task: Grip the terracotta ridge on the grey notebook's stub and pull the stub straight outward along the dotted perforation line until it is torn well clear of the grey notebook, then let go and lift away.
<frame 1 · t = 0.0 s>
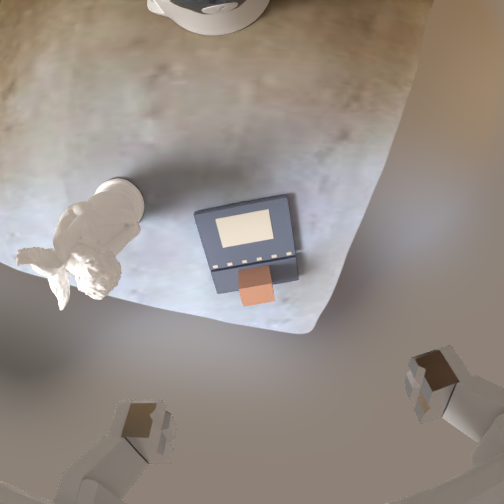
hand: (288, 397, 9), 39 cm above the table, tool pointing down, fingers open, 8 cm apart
grey notebook: (246, 232, 50), on the table
stub: (256, 283, 51), point 3 cm above the table, slide at 0.0 cm
cherub figurine: (114, 211, 47), on the table
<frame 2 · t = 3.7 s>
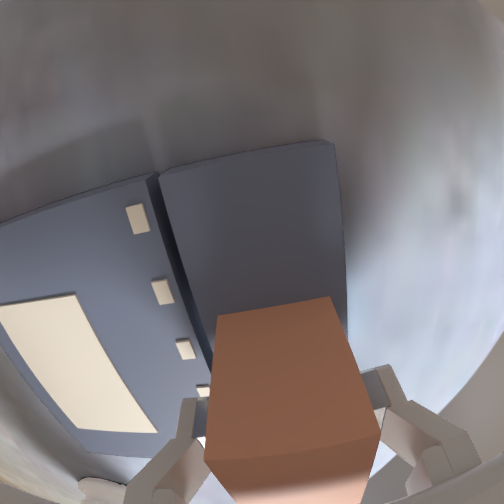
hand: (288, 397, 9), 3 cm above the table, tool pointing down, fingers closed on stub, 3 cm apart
grey notebook: (104, 358, 12), on the table
stub: (289, 404, 9), point 3 cm above the table, slide at 0.0 cm, touching gripper
cherub figurine: (140, 501, 21), on the table
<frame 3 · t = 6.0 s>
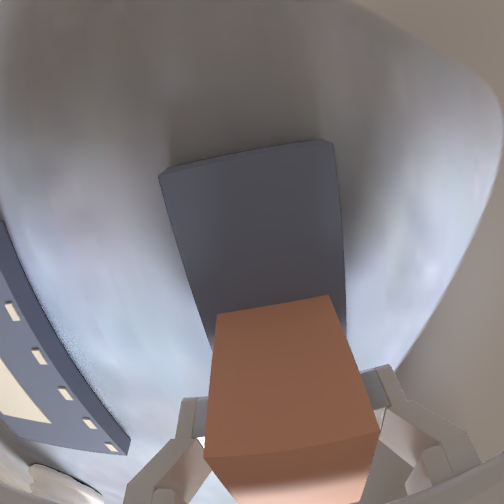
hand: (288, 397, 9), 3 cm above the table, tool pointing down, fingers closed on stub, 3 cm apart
grey notebook: (8, 358, 13), on the table
stub: (288, 402, 9), point 3 cm above the table, slide at 7.0 cm, touching gripper
cherub figurine: (83, 490, 22), on the table
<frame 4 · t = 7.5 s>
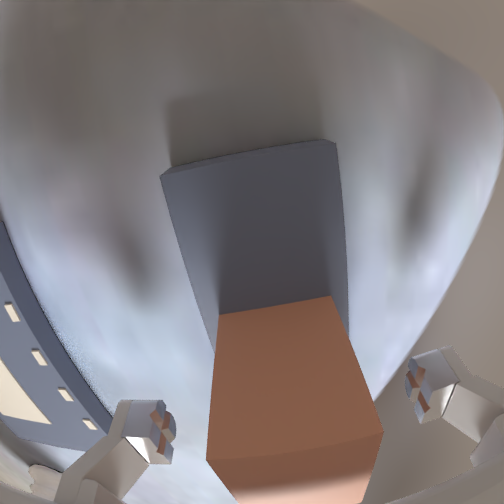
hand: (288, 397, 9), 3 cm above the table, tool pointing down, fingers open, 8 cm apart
grey notebook: (8, 359, 13), on the table
stub: (290, 403, 9), point 3 cm above the table, slide at 7.1 cm
cherub figurine: (83, 491, 22), on the table
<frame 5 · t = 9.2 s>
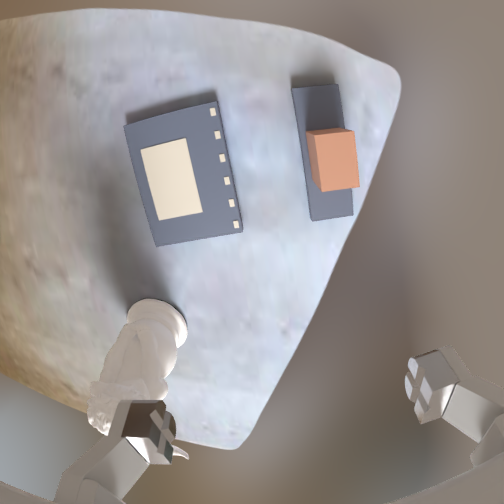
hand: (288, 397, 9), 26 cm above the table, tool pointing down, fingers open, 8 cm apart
grey notebook: (184, 175, 33), on the table
stub: (330, 156, 28), point 3 cm above the table, slide at 7.1 cm
cherub figurine: (168, 330, 42), on the table
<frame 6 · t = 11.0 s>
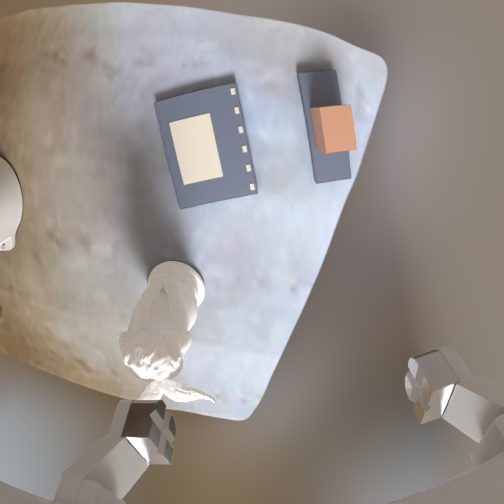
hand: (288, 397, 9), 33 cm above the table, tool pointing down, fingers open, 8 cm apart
grey notebook: (206, 146, 37), on the table
stub: (331, 127, 34), point 3 cm above the table, slide at 7.1 cm
cherub figurine: (186, 292, 46), on the table
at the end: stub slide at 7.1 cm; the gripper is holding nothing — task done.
